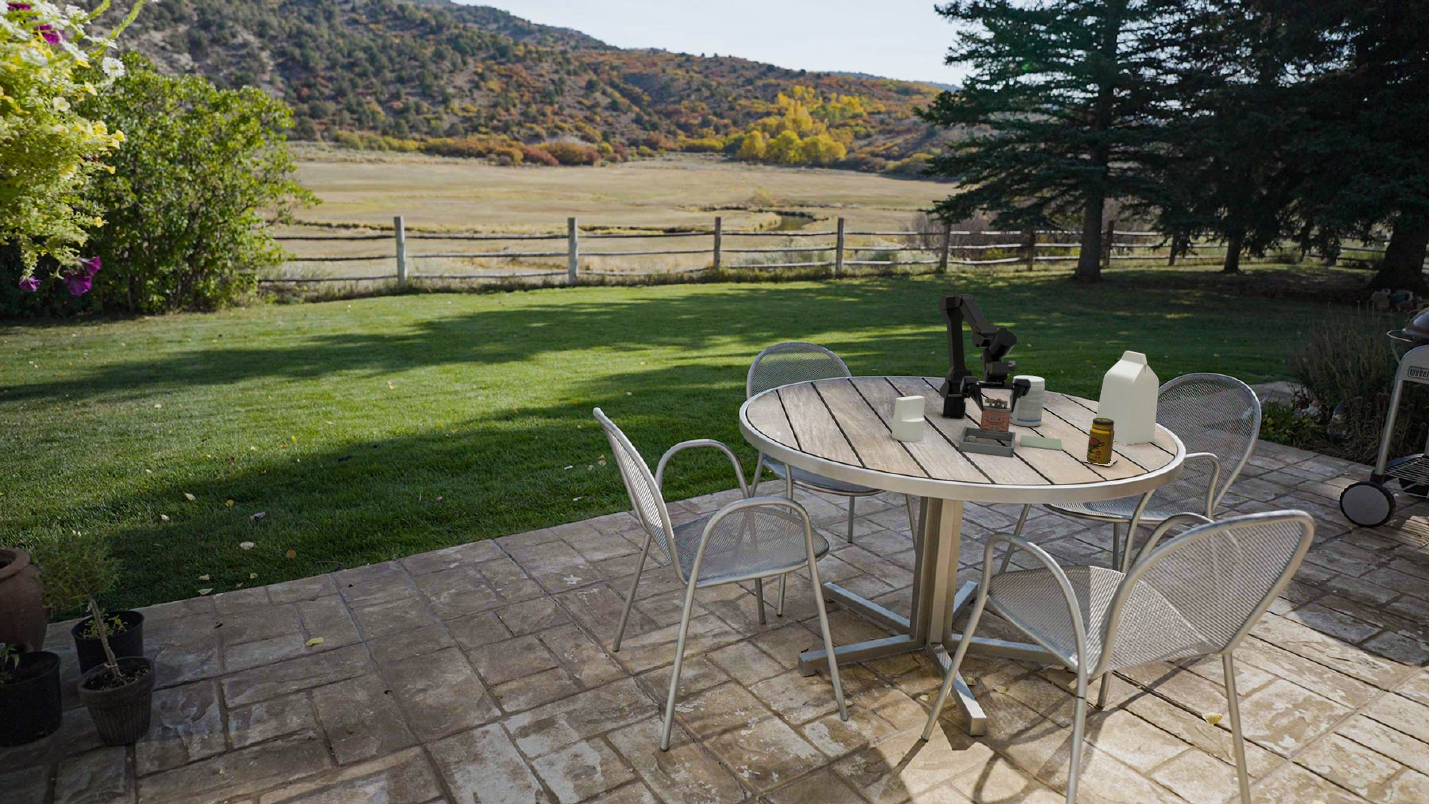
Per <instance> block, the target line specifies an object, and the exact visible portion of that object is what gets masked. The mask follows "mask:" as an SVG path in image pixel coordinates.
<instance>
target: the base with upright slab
mask: <svg viewBox="0 0 1429 804" xmlns="http://www.w3.org/2000/svg"><path fill="white" fill-rule="evenodd" d="M925 403H926V396H925V397H924V396H923V395H922V396H921V395H911V396H909V395H908V396H902V397H896V398H895V403H894V405H895V406H894V415H893V417H892V428H891V429H892V431H891V437H892V438H893V439H894V440H897V441H901V442H911V443H913V442H921V441H922V440H924V431H925V420H926V419H925V417H924V415H925V407H926V406H925V405H926V404H925Z"/></svg>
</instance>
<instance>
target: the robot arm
mask: <svg viewBox="0 0 1429 804" xmlns="http://www.w3.org/2000/svg"><path fill="white" fill-rule="evenodd" d="M938 302H939V303H938V309H939V312H940V313H939V314H940V317H941V318H942V320H943V321H944V322H945V324H946V335H947V337H946V338H947V350H948V362H949V363H948V364H949V368H948V370H947V372H946V373H945V376H944V377H945V378H944V382H943V384H942V385H941V386H940V388H939V391H938V392H939V397H941V398H943V410H942V414H941V417H945V418H953V419H954V418H955V419H963V418H964V417H965V416H966V412H967V411H966V410H967V401H965V400H966V399H972V400H973V401H974V402H975V404H976V406H977V407H978V409H979V410H980V412H981V413H982V412H983V410H984V408H983V406H984V401H983V396H982V395H983V394H982V389H986V390H987V389H988V390H1002V391H1011V394H1009V408H1011V409H1012V410H1011V413H1013V411H1014V408H1015V404H1016V401H1017V398H1021V396H1026V395H1027V393H1028V391H1029V389H1030V388H1031V382H1030V380H1029V379H1021V378H1016V379H1015V381H1014V383H1013V382H1006V381H1007V380H1008V376H1009V375H1010V374H1014V373H1015V372H1016V369H1017V367H1016V361H1015V360H1008V361H1007V362H1006V361H1005V362H1004V358H1003V357H1006V356H1008V355H1009V353H1010V352H1011V351H1012V349H1013V348H1014V347H1015V346H1016V344H1017V342H1018V338H1017V336H1016V335H1015V334H1014V333H1013V332H1011V331H1010V330H1008V328H1007V327H999V328H997V327H996V326H995V324H993V323H991V322H988V321H987V319H986V318H985V316H984V315H983V312H982V311H981V309H980V308H979V305H978V304H977V303H976V298H975V296H974V294H973V295H972V294H967V293H966V294H965V293H964V294H958V295H943V297H942V298H941V299H940V300H939V301H938ZM964 319H965V320H966V323H968V325H969V327H970V329H971V335H970V338H971V341H972V343H973V346H974V347H975V348H980V349H982V348H983V350H982V352H981V354H980V356H979V360H982V361H981V362H982V369H983V370H982V376H983V381H981V380H979V377H978V376H975V375H974V376H973V373H972V371H971V370H968V368H967V367H966V360H965V347H964V344H965V343H964V331H963V321H964Z"/></svg>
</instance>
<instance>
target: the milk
mask: <svg viewBox="0 0 1429 804" xmlns="http://www.w3.org/2000/svg"><path fill="white" fill-rule="evenodd" d="M1159 388H1160V380H1159V378H1158V376H1157V375H1156V373H1155V372H1154V371H1153V369H1152V368H1151V367H1150V366H1149V365H1148V361H1147V356H1146V353H1140V352H1135V351H1131V350H1125V351H1124V352H1123V354H1122V356H1121V358H1120V360H1118V362H1116V363H1115V364H1114V365H1113V366H1112V367H1111V368H1110V369H1108V370H1107V372H1106V373H1105V374H1104V377H1103V380H1102V385H1101V389H1100V390H1101V391H1100V395H1099V396H1100V397H1099V402H1098V406H1097V411H1096V417H1095V418H1107V419H1111V420H1113V421H1114V428H1113V430H1114V432H1115V433H1114V441H1116V442H1115V443H1117V442H1118V443H1117V444H1120V443H1123V444H1132V443H1139V444H1147V443H1154V442H1155V431H1156V423H1157V421H1156V420H1157V411H1158V410H1157V409H1158V408H1157V407H1158V398H1159ZM1114 441H1113V442H1114ZM1123 444H1122V445H1123ZM1132 445H1133V444H1132Z"/></svg>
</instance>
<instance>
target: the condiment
mask: <svg viewBox="0 0 1429 804" xmlns="http://www.w3.org/2000/svg"><path fill="white" fill-rule="evenodd" d="M1113 428H1114V421H1113V420H1111V419H1107V418H1096V417H1094V418H1093V419H1092V424H1091V428H1090V429H1089V436H1088V437H1089V438H1088V443H1087V445H1088V446H1087V452H1086V458H1087V461H1088V462H1090V463H1098V464H1108V463H1110V461H1111V459H1112V454H1113V446H1114V441H1113V440H1114V433H1115V432H1114V430H1113Z"/></svg>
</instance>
